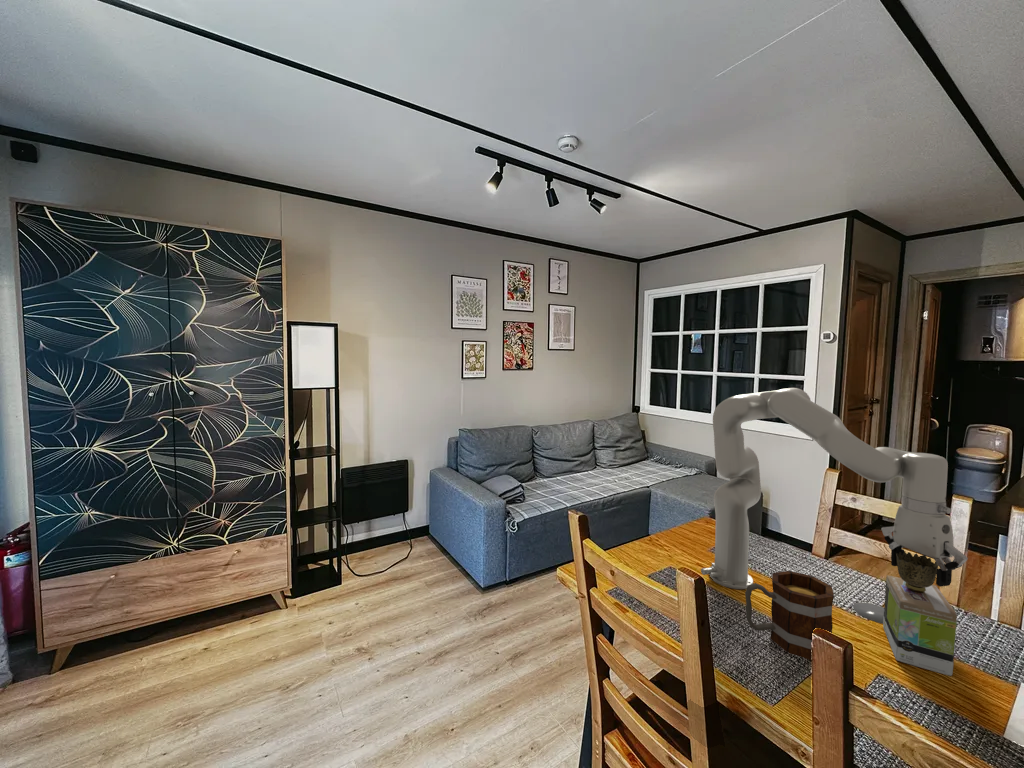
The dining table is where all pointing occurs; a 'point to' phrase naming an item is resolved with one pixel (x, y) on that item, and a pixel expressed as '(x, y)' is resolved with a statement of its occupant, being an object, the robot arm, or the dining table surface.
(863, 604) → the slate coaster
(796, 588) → the mug
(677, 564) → the dining table surface
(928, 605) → the tea box
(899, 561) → the cup
